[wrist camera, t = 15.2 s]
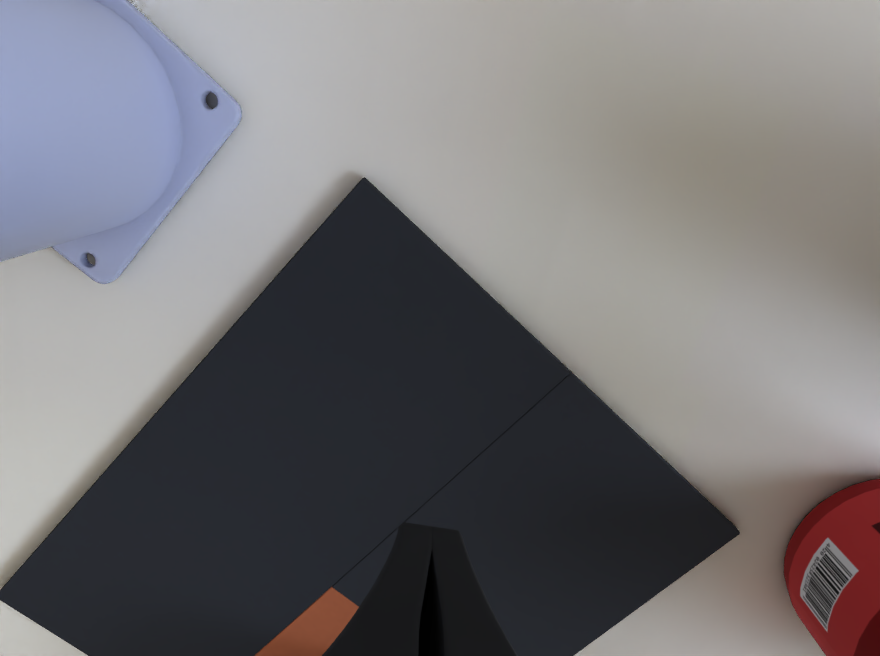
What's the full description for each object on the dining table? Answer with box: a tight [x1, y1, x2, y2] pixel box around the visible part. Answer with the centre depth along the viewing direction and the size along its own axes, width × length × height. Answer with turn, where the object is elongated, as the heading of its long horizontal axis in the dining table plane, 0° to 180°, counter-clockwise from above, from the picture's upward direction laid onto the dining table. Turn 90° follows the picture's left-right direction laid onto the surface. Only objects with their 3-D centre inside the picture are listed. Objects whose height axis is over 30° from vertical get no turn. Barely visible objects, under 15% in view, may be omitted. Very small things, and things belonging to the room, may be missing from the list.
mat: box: [0, 178, 740, 656], centre depth 24 cm, size 20×24×1 cm
